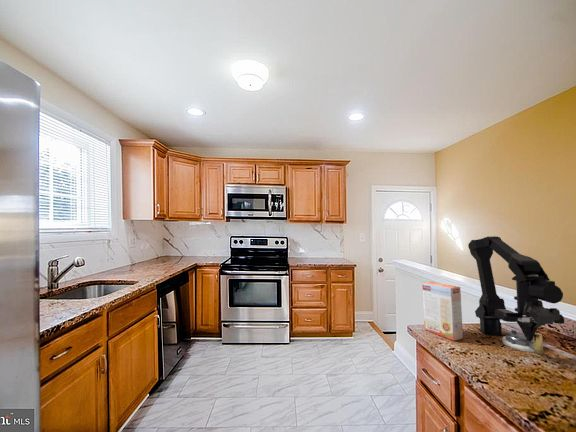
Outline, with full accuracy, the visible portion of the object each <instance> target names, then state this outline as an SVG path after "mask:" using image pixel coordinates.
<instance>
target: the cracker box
mask: <svg viewBox="0 0 576 432" xmlns="http://www.w3.org/2000/svg"><path fill="white" fill-rule="evenodd" d="M461 293H462V292H461V287H460V286H456V285H451V284H447V283H442V282H441V283H440V282H435V281H425V282H422V302H423V305H422V306H423V326H424V331H427V332H429V333H432V334H434V335H437V336H440V337H442V338H445V339H448V340H449V341H453V342H454V341H459V340H463V339H464V330H463V329H464V328H463V312H462V296H461V295H462V294H461Z"/></svg>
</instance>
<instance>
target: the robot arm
mask: <svg viewBox="0 0 576 432" xmlns="http://www.w3.org/2000/svg"><path fill="white" fill-rule="evenodd" d="M467 246H468V250H469V253H470V255H471V256H472V257H473V259H474V260H475V262H476V266H477V271H478V272H477V273H478V278H479V283H480V289H481V296H480V297H479V299H478V303H479V305H478V307H477V308H476V309H475V311H474V313H475V317H476V318H479V326H480V327H479V328H478V329H477V330H478V331H479V332H481V333H482V334H484V335H485V336H494V337H495V336H498V337H499V336H501V337H504V334H503V330H502V329H503V327H502V322H501V321H503V322H506V323H507V322H508V323H517V325H518V326H519V328H520V330H521V331H522V333H524V335H525V337H526V339H527V341H529V342H531V341H532V339H533V337H534V334H535V333H537V330H539V329H538V328H540V327H543V326H546V325H551V326H552V325H553V324H558V325H559V324H560V325H561V324H563V325H564V324H565V317H564V316H563V314H561V312H560V310H559V309H558V308H556V307H555V308H554V307H550V308H548V307H544V305H543V301H544V302H546V303H550V304H558V303H560V302H561V301H562V300H563V298H564V292H563V291H562V289H561V288H560V287H559V286H557V285H556V281H554V280H551V279H550V278H549V275H548V274H547V272H546V271H545V270H544V268H543V267H542V265H541V264H540V262H539V261H538V260H537V259H534V258H533V257H532V256H531V257H530V256H528V255H524V254H521V253H520V252H518V251H517V250H515V249H514V248H513V247H512V246H510V245H509V244H508V243H506V242H505V241H504V240H502V238H501V237H499V236H496V235H494V236H486V237H483V238H478V239H471V240H470V242H468V245H467ZM494 253H496V254H497V255H499V256H500V257H501V258H502V259H503V260H504V261H506V263H507V265H508V266H507V267H508V269H509V270H510V271H511V273H512V274H514V276H513V277H511V280H512V281H514V282H515V285H516V286H515V287H516V288H515V289H516V296H513V299H514V301H516V305H517V307H514V311H515V312H514V311H512V310H510V309H507V307H506V305H505V300H504V298H500V297H501V296H499V295H498V294H497V289H496V288H497V287H496V285H495V279H494V274H493V268H492V264H491V258H492V256H493V254H494Z"/></svg>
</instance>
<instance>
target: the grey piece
mask: <svg viewBox="0 0 576 432" xmlns="http://www.w3.org/2000/svg"><path fill="white" fill-rule="evenodd" d="M505 336H506V340H507V341H509V342H511V343H514V344H518V345H522V346H528V347H530V348H532V349H533V350H534V352H533V353H536V354H544V343H543V334H541V333H539V332H535V334H534V337H533V339H532V341H531V342H529V341H527V339H526V337H525V335H524V333H523V331H522V332H521V331H517V330H515V329H511V331H509V330H508V331H506V330H505Z"/></svg>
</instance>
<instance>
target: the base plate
mask: <svg viewBox="0 0 576 432" xmlns="http://www.w3.org/2000/svg"><path fill="white" fill-rule="evenodd" d="M501 339H502V344H503V345H504V346H506V347H508V348H511V349H513V350H516V351H521V352H526V353H527V352H528V353H535V352H534V350H533V349H532V348H530V347H528V346H522V345H518V344H514V343H511V342H509V341H507V340H506V335H505V336H504V335H503V336H502V338H501Z"/></svg>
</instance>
